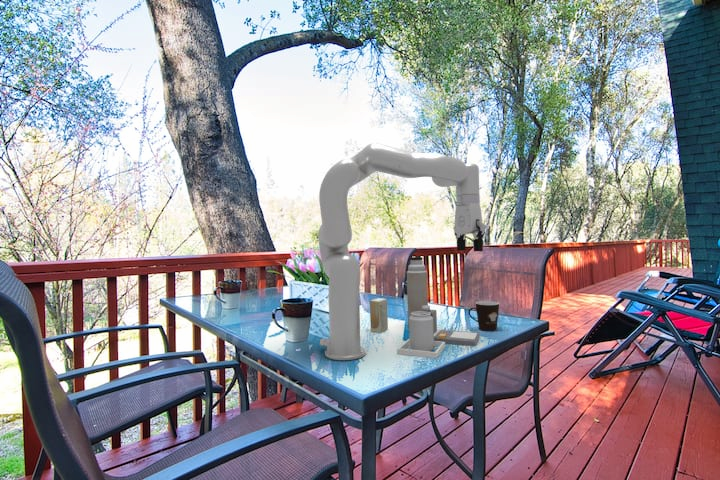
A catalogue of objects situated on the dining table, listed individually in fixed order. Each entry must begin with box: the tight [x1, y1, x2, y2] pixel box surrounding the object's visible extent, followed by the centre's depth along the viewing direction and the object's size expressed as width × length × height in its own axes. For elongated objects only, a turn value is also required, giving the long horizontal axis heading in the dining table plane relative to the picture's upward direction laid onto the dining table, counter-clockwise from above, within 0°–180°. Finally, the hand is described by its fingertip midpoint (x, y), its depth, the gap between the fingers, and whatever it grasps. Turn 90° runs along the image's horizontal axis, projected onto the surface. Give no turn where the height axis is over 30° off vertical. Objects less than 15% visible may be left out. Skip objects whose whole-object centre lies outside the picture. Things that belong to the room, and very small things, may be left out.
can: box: [408, 311, 435, 352], centre depth 118 cm, size 8×8×12 cm
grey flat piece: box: [434, 329, 481, 347], centre depth 131 cm, size 22×12×2 cm, turn 65°
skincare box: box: [369, 297, 389, 334], centre depth 144 cm, size 6×4×12 cm
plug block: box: [418, 304, 438, 334], centre depth 134 cm, size 6×6×9 cm
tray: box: [396, 338, 446, 359], centre depth 118 cm, size 12×12×2 cm
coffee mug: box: [468, 300, 500, 332], centre depth 143 cm, size 12×9×10 cm
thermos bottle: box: [406, 256, 429, 329], centre depth 147 cm, size 8×8×28 cm
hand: (469, 250), depth 128 cm, fingers open, 9 cm apart
